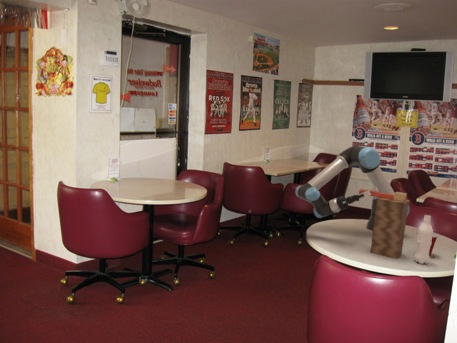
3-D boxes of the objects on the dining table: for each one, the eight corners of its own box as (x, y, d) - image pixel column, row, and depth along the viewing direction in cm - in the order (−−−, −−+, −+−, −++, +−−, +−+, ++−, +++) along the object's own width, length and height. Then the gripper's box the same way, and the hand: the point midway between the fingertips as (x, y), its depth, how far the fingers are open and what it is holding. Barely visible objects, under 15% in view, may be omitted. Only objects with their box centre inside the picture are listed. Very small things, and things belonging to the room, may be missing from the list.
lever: (358, 194, 252) (359, 187, 251) (361, 193, 256) (362, 186, 255) (403, 202, 239) (404, 194, 238) (405, 200, 243) (406, 193, 242)
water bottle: (419, 264, 233) (425, 217, 229) (410, 260, 240) (417, 213, 236) (431, 264, 235) (438, 217, 231) (423, 260, 242) (429, 214, 238)
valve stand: (369, 252, 248) (375, 198, 244) (375, 247, 257) (381, 195, 253) (397, 259, 240) (404, 203, 235) (402, 254, 249) (409, 200, 244)
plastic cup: (431, 252, 256) (434, 231, 254) (438, 258, 245) (441, 237, 243) (411, 250, 257) (414, 229, 255) (417, 256, 246) (420, 235, 244)
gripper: (349, 206, 271) (382, 194, 259) (333, 213, 250) (369, 200, 239) (344, 195, 272) (377, 182, 260) (328, 201, 251) (363, 187, 240)
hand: (373, 191), depth 249 cm, fingers open, 13 cm apart
